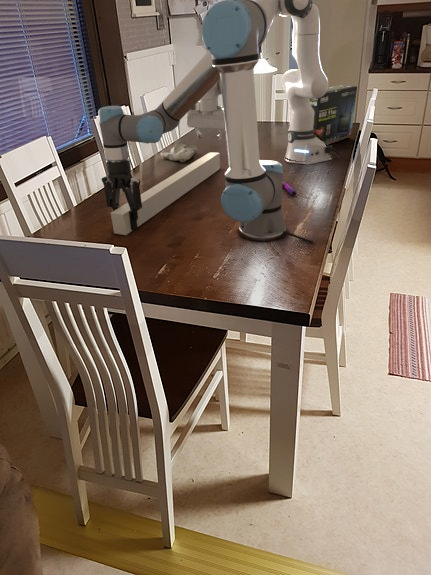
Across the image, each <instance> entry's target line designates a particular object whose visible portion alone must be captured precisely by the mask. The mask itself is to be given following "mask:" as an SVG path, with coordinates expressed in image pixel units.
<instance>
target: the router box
mask: <svg viewBox="0 0 431 575" xmlns="http://www.w3.org/2000/svg"><path fill="white" fill-rule="evenodd" d="M357 93H358V86H356V85H350V84H339V85H338V84H337V85H334V86H328V89H327V91H326V93H325V94H324V95H323V96H322V97H320V98H316V99H309V101H310V104H311V106H312V108H313V109H314V127H313V128H314V129H315V130H320V131H321V134H320V135H317V134H316V137H317V138H318V139H320V140H321V141H322V142H323V143H324V144H325V143H328V142H331V141H333V140H336V139H338V138H341V137H344V136H347V135H351V136H352V133H353V132H352V131H353V125H354V115H355V109H356V99H357Z"/></svg>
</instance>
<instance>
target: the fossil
mask: <svg viewBox="0 0 431 575" xmlns="http://www.w3.org/2000/svg"><path fill="white" fill-rule="evenodd" d="M198 153H199V150H198V148H197V146H195V145H188V146H187V145H186V143H184V142H183V143H181V142H176V143H175V145H174V146H173V147H172V148H171V149H170V150H168V149H165V150H162V151H161V152H160V156H161V158H162V159H163V160H169V161H174V162H177V161H179V162H180V163H185V162H187V161H188V160H190V159H191V158H192V157H193V156H194V155H197V154H198Z"/></svg>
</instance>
